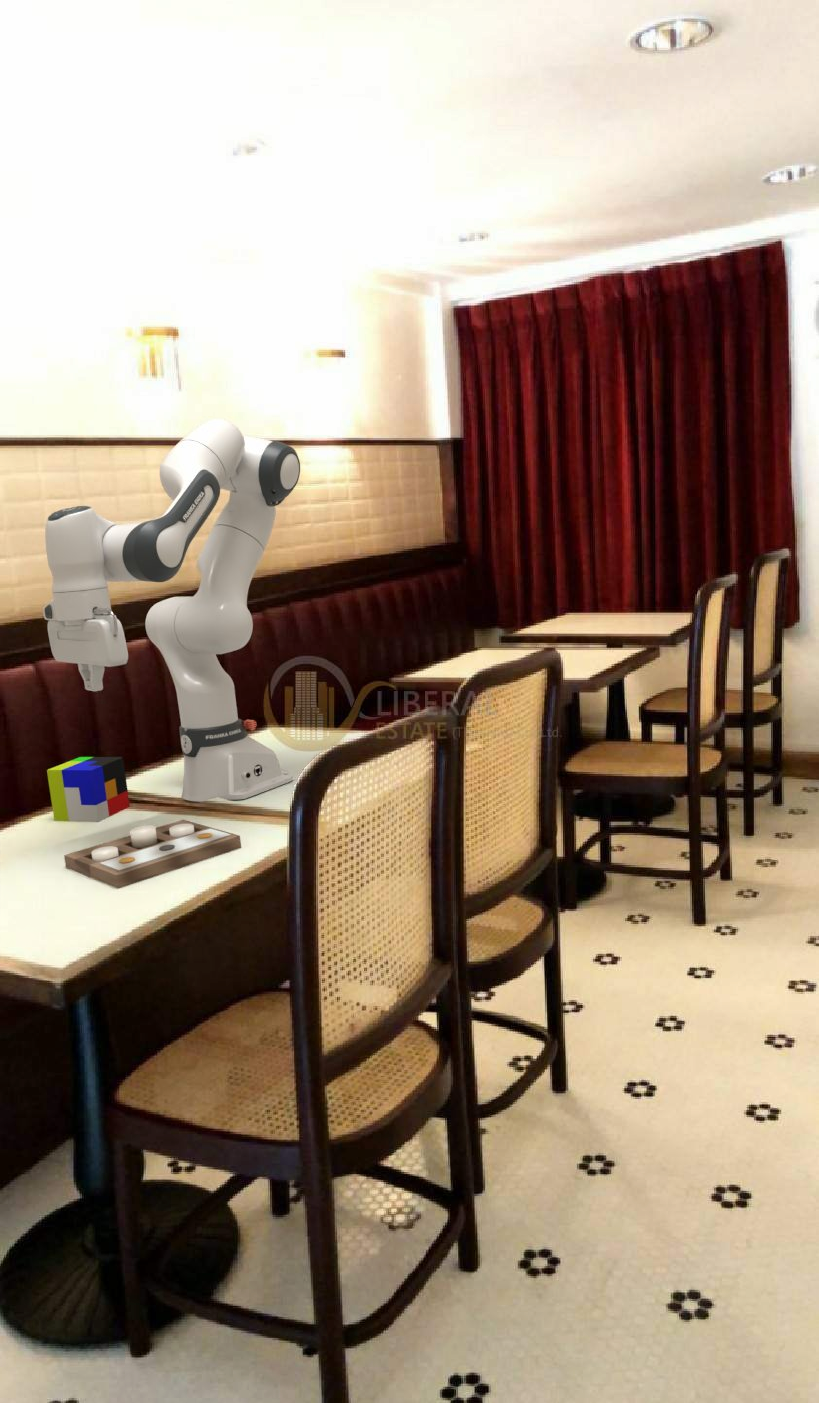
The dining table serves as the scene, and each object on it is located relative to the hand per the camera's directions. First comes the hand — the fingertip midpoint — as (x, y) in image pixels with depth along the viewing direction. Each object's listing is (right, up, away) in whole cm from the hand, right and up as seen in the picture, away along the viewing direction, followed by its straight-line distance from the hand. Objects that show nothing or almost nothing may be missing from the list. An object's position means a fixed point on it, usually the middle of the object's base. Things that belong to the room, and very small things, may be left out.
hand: (94, 690), depth 181 cm
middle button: (+10, -25, -5) cm, 27 cm away
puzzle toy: (-8, -24, +28) cm, 37 cm away
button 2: (+15, -25, 0) cm, 29 cm away
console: (+12, -28, -6) cm, 31 cm away
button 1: (+5, -28, -9) cm, 30 cm away
